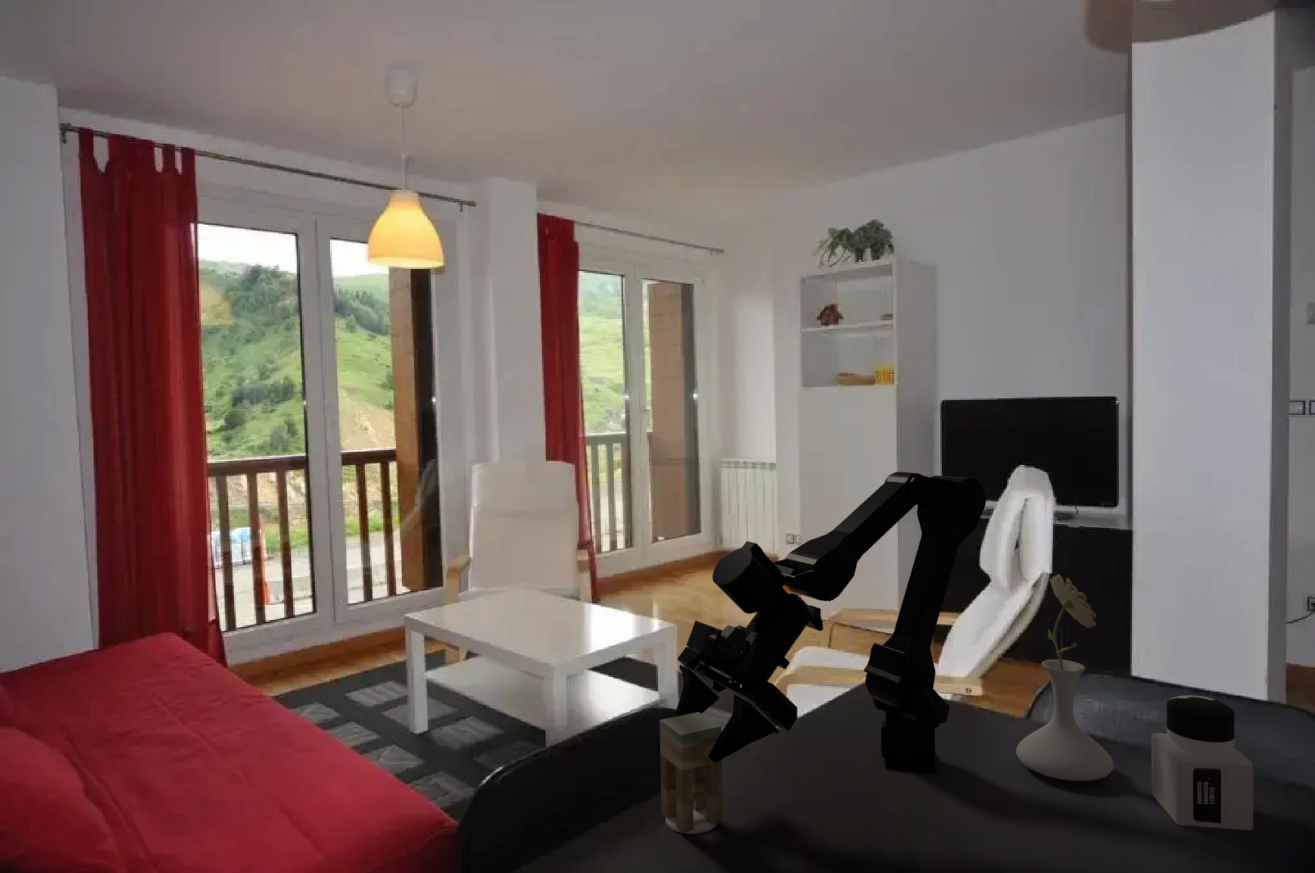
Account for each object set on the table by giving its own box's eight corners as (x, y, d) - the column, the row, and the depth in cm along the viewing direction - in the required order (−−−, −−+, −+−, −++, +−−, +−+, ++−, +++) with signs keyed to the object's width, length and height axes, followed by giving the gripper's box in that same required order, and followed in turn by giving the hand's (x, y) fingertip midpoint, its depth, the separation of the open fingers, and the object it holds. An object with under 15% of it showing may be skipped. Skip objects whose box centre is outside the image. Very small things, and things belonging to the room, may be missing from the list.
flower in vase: (1121, 796, 100) (1120, 590, 100) (1018, 783, 104) (1017, 584, 103) (1104, 754, 112) (1103, 570, 112) (1012, 744, 116) (1011, 566, 116)
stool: (700, 802, 99) (698, 711, 99) (722, 821, 95) (721, 726, 94) (661, 813, 97) (659, 719, 97) (682, 832, 92) (681, 734, 92)
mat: (722, 812, 98) (722, 808, 98) (710, 836, 92) (710, 833, 92) (673, 805, 100) (673, 802, 100) (659, 829, 94) (659, 826, 94)
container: (1254, 831, 91) (1254, 714, 91) (1176, 826, 93) (1176, 710, 92) (1221, 799, 99) (1221, 691, 98) (1150, 794, 100) (1150, 688, 100)
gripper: (689, 582, 106) (612, 682, 101) (773, 611, 89) (685, 733, 85) (742, 634, 110) (671, 733, 105) (832, 672, 93) (752, 792, 88)
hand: (691, 745), depth 96 cm, fingers open, 9 cm apart
